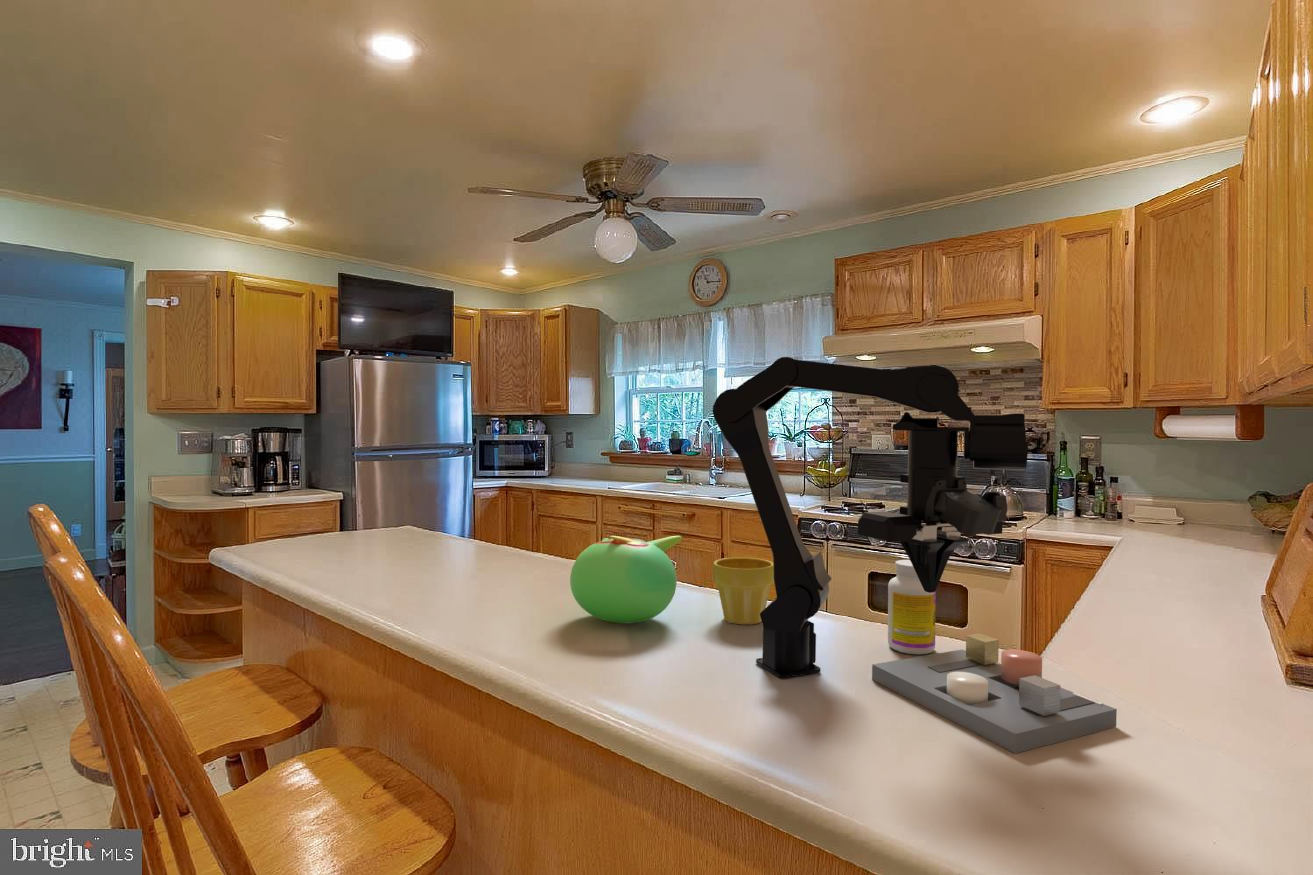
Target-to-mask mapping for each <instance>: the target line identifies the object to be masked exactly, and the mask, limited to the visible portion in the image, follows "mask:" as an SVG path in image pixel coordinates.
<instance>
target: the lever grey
mask: <svg viewBox="0 0 1313 875" xmlns="http://www.w3.org/2000/svg"><path fill="white" fill-rule="evenodd" d="M1060 687H1061V684H1059V683H1057V682H1053V681H1051V680H1048V679H1047V678H1046V679H1045V678H1043V677H1042V678H1041V677H1038V676H1035V675H1034V676H1029V677H1024V678H1020V679H1019V688H1018V690H1019V705H1020V706H1022V707H1024V708H1027V709H1029V710H1031V711H1033V712H1036V713H1038V714H1040V715H1043V716H1046V715H1051V714H1055V713H1059V712H1060Z"/></svg>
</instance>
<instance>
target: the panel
mask: <svg viewBox="0 0 1313 875" xmlns="http://www.w3.org/2000/svg"><path fill="white" fill-rule="evenodd" d="M951 672H967V673H973V674H976V675H979V676H982V677H984V678H986V679H987V680H988V701H986V702H982V703H977V704H972V705H968V704H966V703H964V702H962V701H960V700H957V699H955V698H953V697H951V696H949V695H947V674H949V673H951ZM871 681H874V682H877V683H878V684H879V685H882V686H883V687H884V688H887V689H889V690H891V691H894V692H895V693H897V694H899V695H900V696H903V697H905V698H907V699H908V700H911V701H912V702H914V703H917V704H918V705H920V706H922V707H924V708H926V709H928V710H930V711H932V712H934V713H935V714H937V715H940V716H942V717H944V718H945V719H948V721H949V720H950V721H951V722H954V723H956V724H957V725H959V726H961V727H964V728H965V729H967V730H969V731H971V732H973V733H975V734H976V735H978V736H981V737H982V738H984V739H986V740H988V741H989V742H992V743H993V744H996V745H998V746H1000V747H1002V748H1004V749H1006V750H1007V751H1009V752H1011V753H1013V754H1018V753H1022V752H1026V751H1029V750H1033V749H1037V748H1041V747H1044V746H1045V747H1046V746H1049V745H1052V744H1056V743H1059V742H1064V741H1067V740H1072V739H1076V738H1079V737H1083V736H1087V735H1091V734H1095V733H1098V732H1099V733H1100V732H1102V731H1106V730H1110V729H1113V728H1117V715H1118V714H1117V708H1115V707H1112V706H1110V705H1106V704H1104V702H1100V701H1099V700H1096V699H1094V698H1091V697H1089V696H1086V695H1084V694H1081V693H1078V692H1074V691H1072V690H1068V689H1066V688H1063V687H1061V686H1060V712H1059V713H1055V714H1051V715H1046V716H1043V715H1040V714H1038V713H1036V712H1033V711H1031V710H1029V709H1027V708H1024V707H1022V706H1020V705H1019V685H1015V684H1012V683H1009V682H1007V681H1005V680H1003V679H1002V678H1001V662H998V663H993V664H987V665H983V664H981V663H978V662H976V661H973V660H971V659H968V658H966V649H965V650H964V649H956V650H951V651H944V652H938V653H932V654H925V655H921V656H914V657H908V658H904V659H897V660H891V661H885V662H879V663H873V664H871Z"/></svg>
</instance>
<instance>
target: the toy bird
mask: <svg viewBox="0 0 1313 875" xmlns="http://www.w3.org/2000/svg"><path fill="white" fill-rule="evenodd" d="M608 537H609V538H606V537H605V538H602V539H601V541H598V542H595V543H593V544H591V545H589V546H587V548H585V549H584V550H583V551H582V552H580V554H579V555H578V556H577V557H576V559H575V561H574V563H573V565H572V568H571V571H570V577H569V580H570V581H569V583H570V584H569V585H570V590H571V593H572V596H573V598H574V599H575V601H576V603H577V604H578V605H579V606H580V607H581V609H583V610H584V611H585V612H586V613H588V614H589V615H591V616H593V617H595V618H597V619H599V620H602V621H606V622H610V623H616V624H635V623H641V622H645V621H648V620H651V619H653V618H655V617H657V616H658V615H660V614H661V613H662V612H664V610H666V609H667V608H668V607H669V605H670V603H671V602H672V600H673V598H674V597H675V594H676V589H677V582H678V581H677V579H678V578H677V572H676V569H675V566H674V564H673V561H672V560H671V559H670V557H669V556H668V555H667V554H666V553H665V551H667V550H668V549H671V548H672V547H674V546H675V545H676V544H678V543H679V542H680V541H682V539H683V536H681V535H673V536H667V537H666V536H665V537H662V538H658V539H654V540H649V541H645V540H643V539H639V538H630V537H624V536H618V535H609V536H608Z"/></svg>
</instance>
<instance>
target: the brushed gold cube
mask: <svg viewBox="0 0 1313 875" xmlns="http://www.w3.org/2000/svg"><path fill="white" fill-rule="evenodd" d="M999 642H1000V640H999V639H997V638H995V637H991V636H988V635H986V634H983V633H972V634H967V635H965V651H966V658H968V659H971V660H973V661H976V662H978V663H981V664H983V665H987V664H993V663H999V650H1000V649H999V648H1000V647H999V645H1000V644H999Z"/></svg>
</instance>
